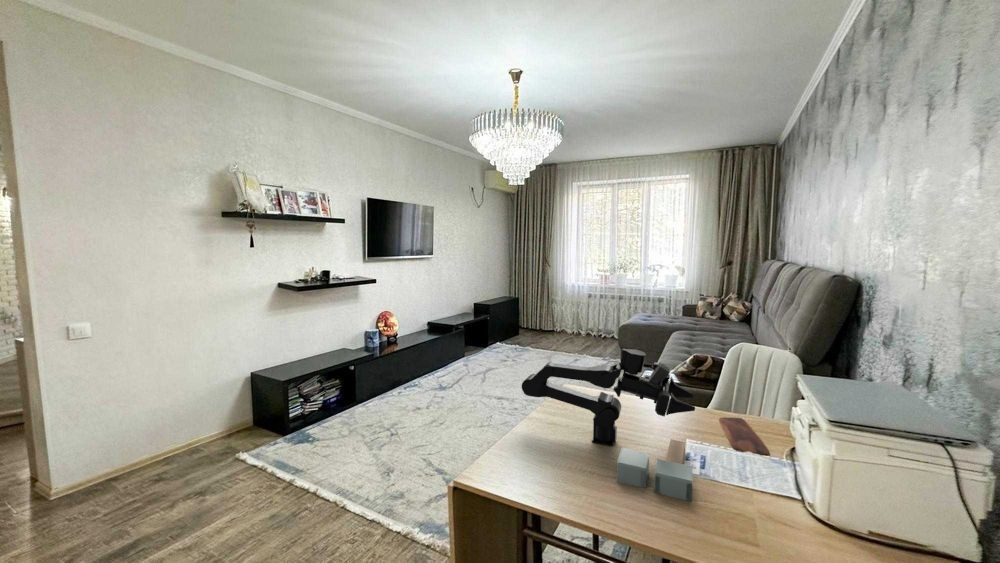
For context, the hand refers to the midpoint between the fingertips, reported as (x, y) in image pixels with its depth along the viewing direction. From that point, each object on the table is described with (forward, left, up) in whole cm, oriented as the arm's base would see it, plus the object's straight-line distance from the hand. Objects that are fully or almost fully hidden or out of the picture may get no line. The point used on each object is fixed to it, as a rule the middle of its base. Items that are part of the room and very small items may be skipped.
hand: (694, 402), depth 116 cm
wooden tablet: (+15, +23, -17) cm, 32 cm away
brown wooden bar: (-4, -6, -17) cm, 18 cm away
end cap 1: (-14, -18, -16) cm, 28 cm away
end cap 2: (-4, -20, -16) cm, 26 cm away
